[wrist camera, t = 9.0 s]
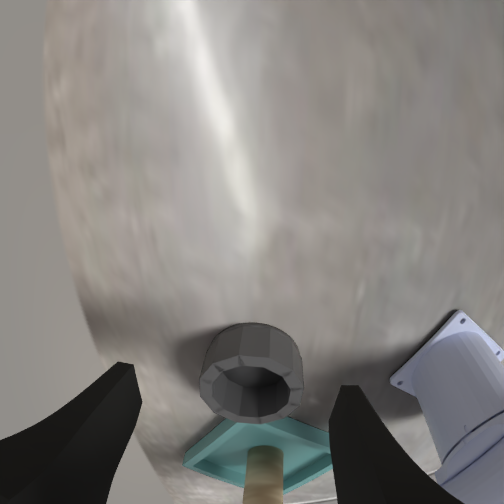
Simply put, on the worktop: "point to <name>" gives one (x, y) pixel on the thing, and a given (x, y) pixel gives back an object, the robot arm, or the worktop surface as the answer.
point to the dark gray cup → (252, 374)
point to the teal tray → (270, 434)
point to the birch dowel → (264, 476)
